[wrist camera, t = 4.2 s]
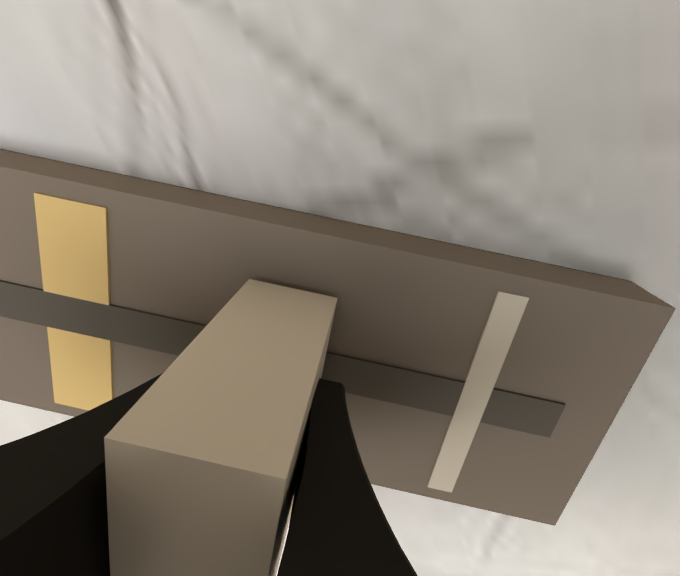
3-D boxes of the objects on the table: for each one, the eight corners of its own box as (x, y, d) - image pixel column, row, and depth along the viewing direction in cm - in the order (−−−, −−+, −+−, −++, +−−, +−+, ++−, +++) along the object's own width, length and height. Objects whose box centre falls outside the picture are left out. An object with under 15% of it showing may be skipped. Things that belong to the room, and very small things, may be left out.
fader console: (631, 281, 12) (678, 310, 10) (533, 477, 15) (555, 528, 13) (-6, 147, 13) (-77, 151, 11) (22, 362, 16) (-30, 395, 14)
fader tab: (337, 297, 11) (286, 479, 5) (308, 442, 13) (246, 690, 7) (249, 278, 11) (103, 437, 5) (233, 425, 13) (113, 658, 7)
